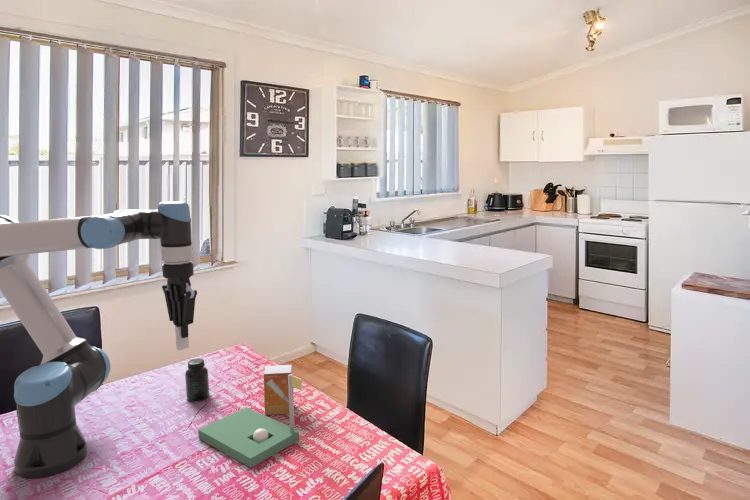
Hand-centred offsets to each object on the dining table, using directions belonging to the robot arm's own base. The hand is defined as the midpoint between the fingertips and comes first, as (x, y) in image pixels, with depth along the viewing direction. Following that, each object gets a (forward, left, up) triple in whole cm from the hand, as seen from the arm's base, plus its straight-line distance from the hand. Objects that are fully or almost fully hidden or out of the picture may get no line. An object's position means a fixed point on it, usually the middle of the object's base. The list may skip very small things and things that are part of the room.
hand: (182, 348), depth 132 cm
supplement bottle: (-17, +14, -25) cm, 33 cm away
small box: (+10, +24, -25) cm, 36 cm away
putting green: (+18, +8, -24) cm, 31 cm away
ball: (+21, +8, -22) cm, 31 cm away
